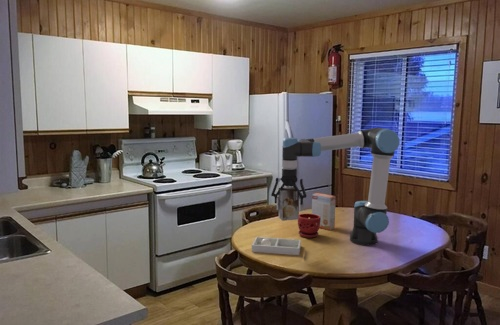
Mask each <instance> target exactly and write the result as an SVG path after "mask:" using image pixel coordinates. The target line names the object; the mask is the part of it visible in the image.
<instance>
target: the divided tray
mask: <svg viewBox="0 0 500 325" xmlns="http://www.w3.org/2000/svg"><path fill="white" fill-rule="evenodd" d="M264 238H267V239H269V240H270V242H271V244H270V246H265V245H261V241H262V239H264ZM301 244H302V240H301V239H293V238H281V237H279V238H278V237H266V236H265V237H264V236H255V239H254V240H253V242H252V244H251V252H253V253H265V254H279V255H289V256H290V255H294V256H300V252H301V247H302V245H301Z"/></svg>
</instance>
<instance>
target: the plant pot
mask: <svg viewBox="0 0 500 325" xmlns="http://www.w3.org/2000/svg"><path fill="white" fill-rule="evenodd" d="M320 220H321V217H320V216H319V215H315V214H312V213H300V214H299V219H298V220H297V226H298V229H299V231H298V234H299V236H300V237H302V238H306V239H308V238H315V237H317V236H319V232H318V231H319V229H320V228H319V227H320ZM316 223H317V225H316Z"/></svg>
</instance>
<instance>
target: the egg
mask: <svg viewBox="0 0 500 325" xmlns="http://www.w3.org/2000/svg"><path fill="white" fill-rule="evenodd" d="M267 238H268V237H266V238H264V239H262V241H261V245H265V246H270V244H271V242H270V240H269V239H267Z"/></svg>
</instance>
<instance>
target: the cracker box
mask: <svg viewBox="0 0 500 325" xmlns="http://www.w3.org/2000/svg"><path fill="white" fill-rule="evenodd" d="M311 195H312V196H311V198H312V199H311V214H315V215H319V216H320V217H321V220H320V227H319V229H323V230H327V231H331V230H334V229H335V224H336V222H335V221H336V220H335V219H336V196H335V195H331V194H327V193H326V194H325V193H320V192H315V193H312V194H311ZM316 225H317V223H316Z"/></svg>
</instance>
